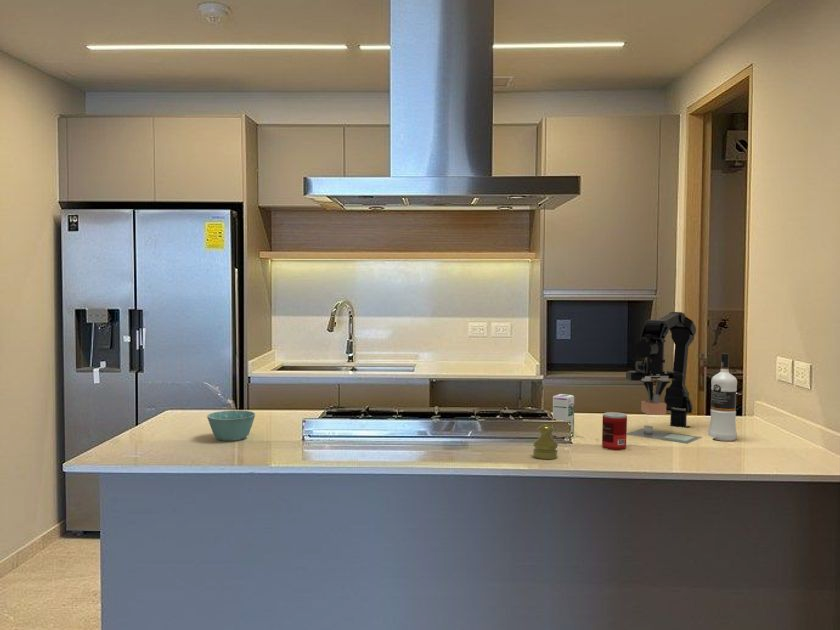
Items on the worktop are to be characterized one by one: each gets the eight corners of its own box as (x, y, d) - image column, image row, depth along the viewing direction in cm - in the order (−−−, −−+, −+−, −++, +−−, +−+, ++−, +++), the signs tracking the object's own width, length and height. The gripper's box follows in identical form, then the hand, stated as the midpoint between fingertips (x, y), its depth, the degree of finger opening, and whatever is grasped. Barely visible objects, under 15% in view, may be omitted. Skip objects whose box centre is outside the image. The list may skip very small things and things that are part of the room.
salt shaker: (531, 453, 233) (532, 422, 232) (555, 454, 233) (556, 422, 232) (534, 459, 226) (535, 426, 225) (559, 460, 225) (559, 427, 225)
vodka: (742, 440, 257) (745, 354, 255) (722, 442, 253) (725, 354, 252) (722, 435, 265) (725, 351, 264) (702, 437, 262) (704, 352, 260)
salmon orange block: (658, 411, 264) (659, 392, 263) (666, 414, 257) (666, 395, 257) (641, 411, 263) (641, 392, 263) (648, 414, 257) (648, 395, 257)
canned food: (628, 446, 245) (628, 413, 245) (623, 451, 238) (624, 417, 238) (604, 443, 249) (605, 411, 248) (599, 448, 241) (600, 415, 241)
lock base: (641, 431, 271) (641, 421, 271) (702, 440, 257) (702, 430, 257) (624, 437, 260) (625, 427, 260) (687, 446, 246) (687, 436, 246)
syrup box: (567, 438, 256) (568, 396, 255) (551, 436, 259) (552, 395, 259) (574, 436, 261) (575, 394, 260) (558, 433, 264) (559, 393, 263)
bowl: (220, 446, 238) (220, 420, 238) (199, 437, 250) (199, 413, 250) (263, 439, 248) (264, 415, 248) (241, 432, 260) (241, 408, 260)
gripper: (671, 353, 268) (670, 396, 269) (621, 353, 267) (619, 396, 267) (684, 357, 257) (683, 401, 258) (632, 356, 256) (630, 401, 256)
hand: (653, 400), depth 260 cm, fingers closed on salmon orange block
